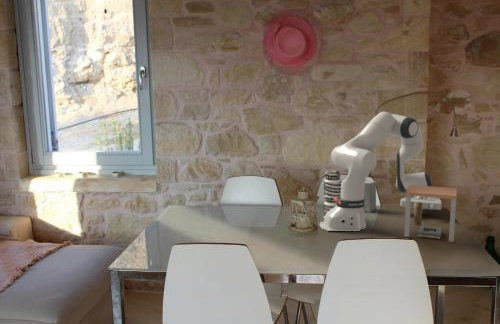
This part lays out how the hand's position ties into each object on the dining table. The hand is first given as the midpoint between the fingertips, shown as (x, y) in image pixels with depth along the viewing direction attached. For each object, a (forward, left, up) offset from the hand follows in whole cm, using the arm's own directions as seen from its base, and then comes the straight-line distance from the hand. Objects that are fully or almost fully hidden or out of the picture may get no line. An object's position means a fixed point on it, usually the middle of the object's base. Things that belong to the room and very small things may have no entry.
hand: (419, 207), depth 269 cm
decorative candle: (-42, +12, -7) cm, 44 cm away
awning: (-6, -23, -7) cm, 25 cm away
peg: (-6, -10, -7) cm, 14 cm away
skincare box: (-19, +23, -7) cm, 30 cm away
